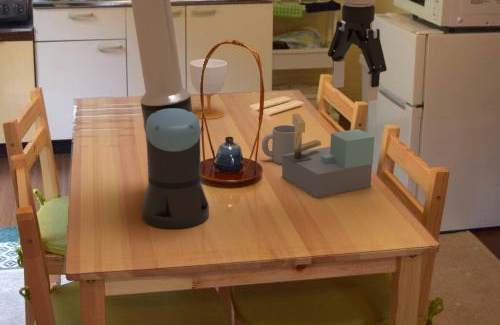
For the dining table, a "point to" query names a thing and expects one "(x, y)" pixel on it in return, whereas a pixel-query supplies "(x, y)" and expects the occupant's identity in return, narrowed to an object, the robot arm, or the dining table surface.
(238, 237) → the dining table surface
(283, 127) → the cup
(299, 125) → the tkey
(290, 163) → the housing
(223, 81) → the cup
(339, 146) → the cover
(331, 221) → the dining table surface
